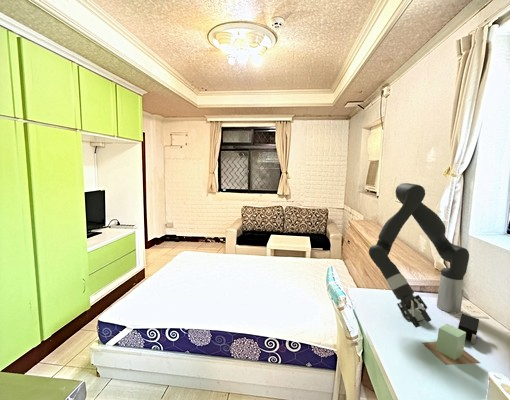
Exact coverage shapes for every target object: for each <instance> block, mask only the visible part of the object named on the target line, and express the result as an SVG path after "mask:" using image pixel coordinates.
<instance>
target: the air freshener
mask: <svg viewBox="0 0 510 400" xmlns="http://www.w3.org/2000/svg"><path fill="white" fill-rule="evenodd" d="M413 296H415V295H414V294H413ZM420 309H421V308H420ZM408 310H409V309H408ZM404 312H405V311H404ZM400 313H401V315H402V316H403V314H402V312H401V311H400ZM405 314H407V313H406V312H405ZM410 314H411V313H410ZM414 317H416V319H417V320H418V322H420V321H423V320H425V319H424V318H423V316H422V314H421V312H419V311H418V310H415V309H414ZM406 319H408V320H410V319H409V318H406Z"/></svg>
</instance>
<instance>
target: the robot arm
mask: <svg viewBox="0 0 510 400" xmlns="http://www.w3.org/2000/svg"><path fill="white" fill-rule="evenodd" d="M425 189H426V188H424V187H423V186H422V185H420V184H417V183H416V184H415V183H410V182H409V183H408V182H404V183H403V182H402V183H400V184H398V185H397V186H396V187H395V197H396V199H397V201H399V203H401V204H402V205H401V207H400V209H399V210H398V211H397V212H396V213H394V214H393V216H391V217H390V218H389V219H388V220H387V221H386V222H384V225H383V227H382V228H381V230H380V232H379V234H378V236H377V237H378V240H377V241H376V244H375V245H374V244H373V245H371V246H370V247H369V249H368V256H369V257H370V259H371V260H372V262H373V263H374V265H376V267H377V268H378V269H379V271H380V273H381V274H382V276H383V279H384V280H386V282H387V285H388V287H389V288H390V290H391V291H392V293H393V295H394V296H395V298H396V299H397V300H398V301H400V302H398V303H397V304H396V305H397V307H398V308H399V310H400V313H401V312H402V313H401V315H402V314H403V315H402V316H403V317H404V319H407V318H409V319H408V320H409V321H410V322H411V323H412V324H413V326H414V328H419V327H421V323H420V321H418V320H417V319H416V317H414V309H415V310H418V311H419V312H421V314H422V316H423V318H424V319H423V320H424V321H425V322H427V323H429V322H431V321H432V318H431V316H430V315H429V314H428V312H427V310H428V306H427V304H426V303H425V301H424V300H423V298H422V297H421V296H420V295H419V294H417V295H414V294H415V291H414V290H413V288H412V286H411V285H410V284H409V282H408V281H407V279H406V278H405V277H404V275H403V274H402V273H401V271H400V269H399V268H398V267H397V266H396V264H395V263H394V262H393V261H392V259H390V257H389V254H390V253H391V249H392V247H393V244H394V242H395V241H396V239H397V237H398V235H399V234H400V232H401V230H402V228H403V227H404V226H405V224H406V222H407V221H408V220H409V219H410V217H411V216H412V217H413V219H414V220H415V221H416V222H417V224H418V226H419V227H420V228H421V230H422V231H423V232H424V234H425V235H426V236H427V238H428V239H429V240H430V242H431V243H432V244H433V246H434V248H435V250H436V251H437V253H438V256H439V257H440V259H442V260H444V261H445V262H447V263H450V267H443V268H442V269H441V270H440V271H441V272H440V278H439V283H438V292H437V293H438V294H437V299H436V307H437V308H438V307H439V308H438V309H440V310H441V309H442V311H444V312H446V313H451V314H456V313H459V312H461V311H462V303H463V297H464V294H463V292H462V290H463V289H462V288H463V284H464V278H465V276H466V273H467V270H468V265H469V261H470V253H469V251H468V249H467V248H465V247H462V246H460V245H456V244H454V243H452V242H451V241H449V239H448V238H447V237H446V232H447V231H446V225H445V223H444V221H442V219H441V217H440V216H439V215H438V214H437V213H436V212H435V211H434V210H432V209H431V208H430V207H428V206H427V205H425V204H424V203H423V200H424V198H425V196H426V190H425ZM413 295H414V296H413ZM420 308H421V309H420ZM408 309H409V310H408ZM404 311H405V312H406V313H407V314H405V312H404ZM410 313H411V314H410Z"/></svg>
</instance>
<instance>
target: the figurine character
mask: <svg viewBox="0 0 510 400" xmlns="http://www.w3.org/2000/svg"><path fill="white" fill-rule="evenodd" d="M479 323H480V319H479V318H476V317H474V316H470V315H468V314H465V313H461V315H460V319H459V322H458V326H457V328H458V329H460V330H462V331H464V332H466V337H465V341H469V342H470V343H471V344H473V345H475V344H476V340H477V339H478V335H477V334H478V331H479V330H478V329H479Z"/></svg>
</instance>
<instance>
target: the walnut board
mask: <svg viewBox="0 0 510 400" xmlns="http://www.w3.org/2000/svg"><path fill="white" fill-rule="evenodd" d="M421 344H422V345H423V346H424V347H426V348H427V349H428V350H429V351H430V352H431V353H432V354H434V356H435V357H436V358H438V359H439V360H440V361H441V362H442V363H443V364H444V365H445V366H447V365H449V366H450V365H467V364H469V365H470V364H471V365H472V364H481V361H479V360H478V359H476V358H475V357H474V356H472V355H471V354H470V353H469V352H467V350H465V349H464V350H463V355H461V356H460V357H459V358H457V359H456V360H454V359H452V358H450V357H448V356H446V355H445V354H443V353H441V352H439V351H437V350H436V345H437V341H430V342H429V341H425V342H424V341H423V342H422V341H421Z"/></svg>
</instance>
